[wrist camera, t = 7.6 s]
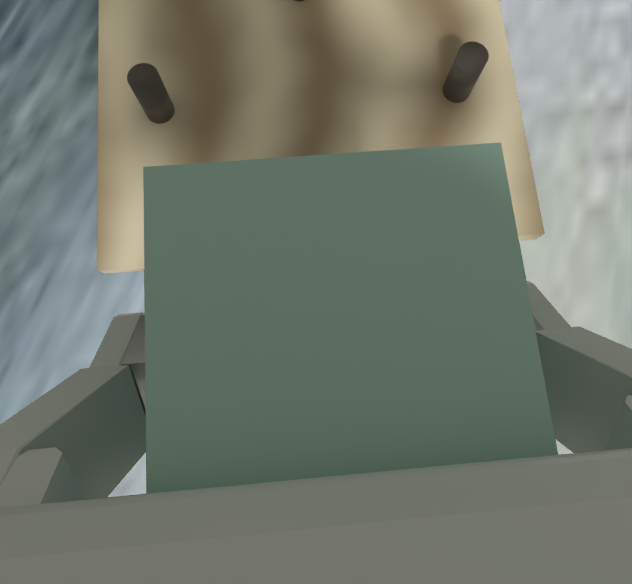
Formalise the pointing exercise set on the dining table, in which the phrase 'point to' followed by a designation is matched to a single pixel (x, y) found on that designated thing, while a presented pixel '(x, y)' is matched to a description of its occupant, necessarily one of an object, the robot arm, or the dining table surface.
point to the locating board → (295, 92)
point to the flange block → (336, 318)
